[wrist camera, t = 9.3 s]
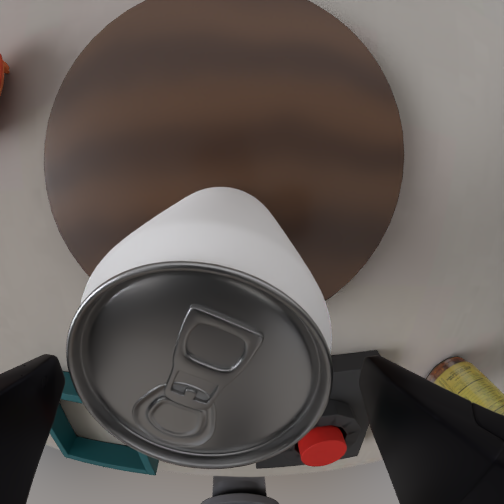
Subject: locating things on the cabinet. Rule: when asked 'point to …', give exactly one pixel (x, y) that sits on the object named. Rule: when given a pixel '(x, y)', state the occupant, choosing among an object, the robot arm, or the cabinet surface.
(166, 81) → the round wooden coaster
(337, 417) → the button panel
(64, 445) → the teal square frame
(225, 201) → the can
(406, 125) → the cabinet surface
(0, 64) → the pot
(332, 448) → the red button
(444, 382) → the sauce bottle
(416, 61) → the cabinet surface
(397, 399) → the robot arm
